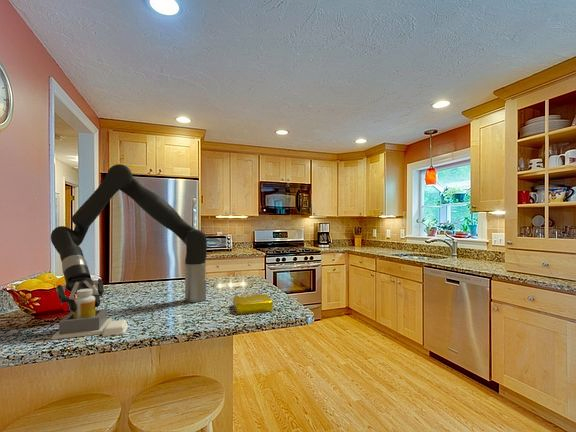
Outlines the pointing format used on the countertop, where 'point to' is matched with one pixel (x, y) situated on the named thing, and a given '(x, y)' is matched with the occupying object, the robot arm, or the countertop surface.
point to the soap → (115, 328)
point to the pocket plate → (82, 325)
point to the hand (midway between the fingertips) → (86, 308)
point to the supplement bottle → (84, 304)
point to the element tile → (253, 303)
